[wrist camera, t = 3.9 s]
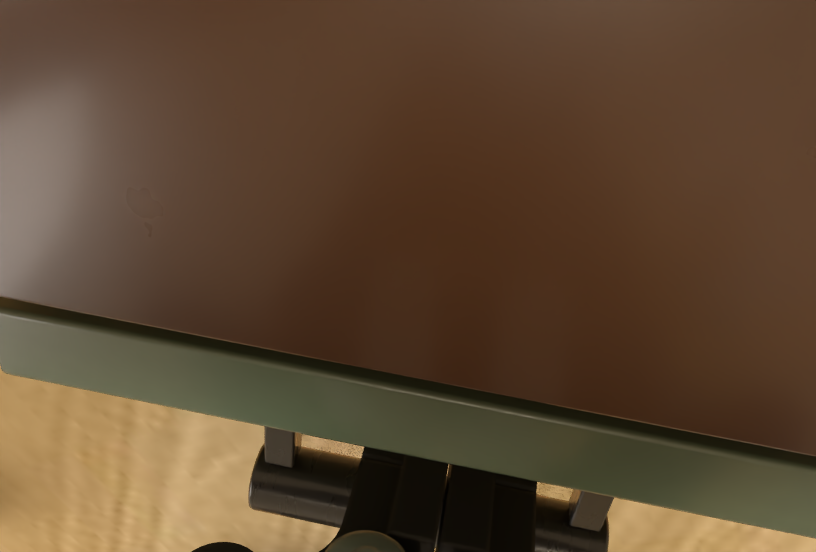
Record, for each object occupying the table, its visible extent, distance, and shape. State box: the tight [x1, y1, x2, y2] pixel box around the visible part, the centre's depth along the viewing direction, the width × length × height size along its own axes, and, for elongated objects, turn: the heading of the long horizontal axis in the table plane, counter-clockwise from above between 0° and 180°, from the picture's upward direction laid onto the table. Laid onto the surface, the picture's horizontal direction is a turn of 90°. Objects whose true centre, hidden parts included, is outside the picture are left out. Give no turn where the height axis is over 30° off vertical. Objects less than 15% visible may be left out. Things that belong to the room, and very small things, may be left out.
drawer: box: [0, 297, 816, 552], centre depth 11 cm, size 18×12×8 cm
